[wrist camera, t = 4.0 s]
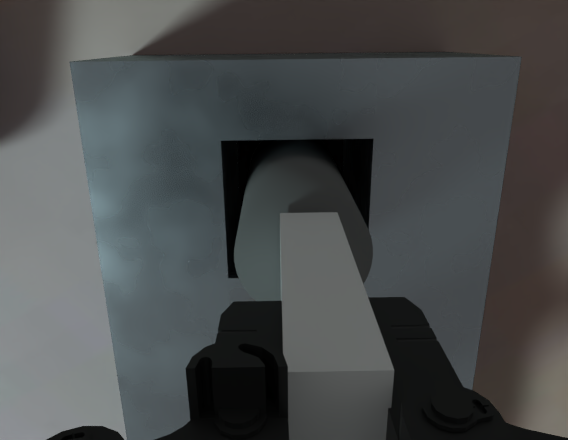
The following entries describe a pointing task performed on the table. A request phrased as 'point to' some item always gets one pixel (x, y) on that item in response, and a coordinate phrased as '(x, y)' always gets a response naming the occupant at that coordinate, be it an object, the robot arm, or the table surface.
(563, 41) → the table surface
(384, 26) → the table surface
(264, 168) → the gray plug
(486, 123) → the grey peg holder block
